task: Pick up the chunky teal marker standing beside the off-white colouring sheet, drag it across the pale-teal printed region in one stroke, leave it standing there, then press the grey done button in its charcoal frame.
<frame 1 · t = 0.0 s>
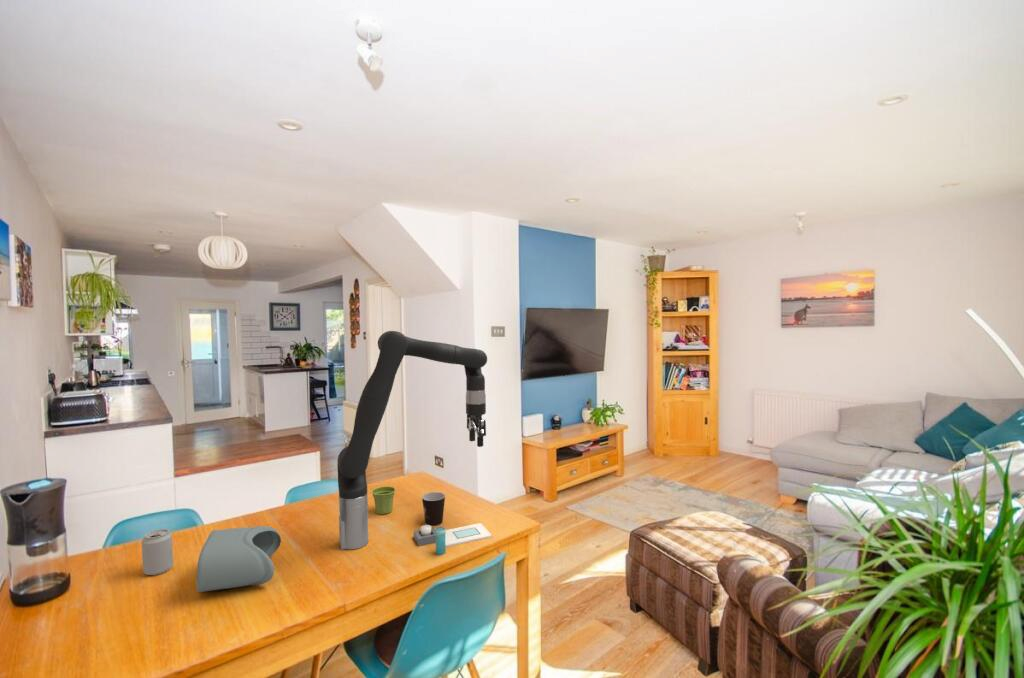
hand: (476, 443, 182), 29 cm above the table, fingers open, 8 cm apart
can: (158, 571, 148), on the table
sheet: (463, 535, 170), on the table
done button: (426, 531, 166), point 3 cm above the table, slide at 0.0 cm
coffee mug: (434, 521, 182), on the table
marker: (440, 552, 158), on the table
plant pot: (384, 512, 191), on the table
button frame: (426, 539, 167), on the table
grey scooped bin: (242, 577, 144), on the table
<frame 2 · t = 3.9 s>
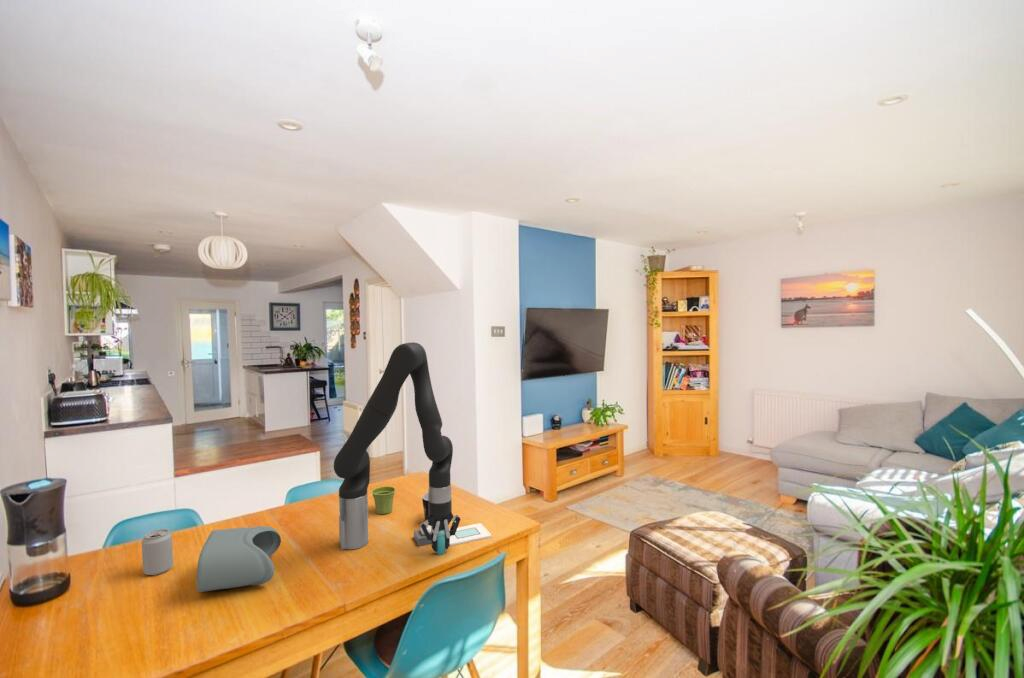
hand: (440, 549, 157), 1 cm above the table, fingers closed on marker, 3 cm apart
marker: (440, 552, 158), on the table, touching gripper
everything else where it was.
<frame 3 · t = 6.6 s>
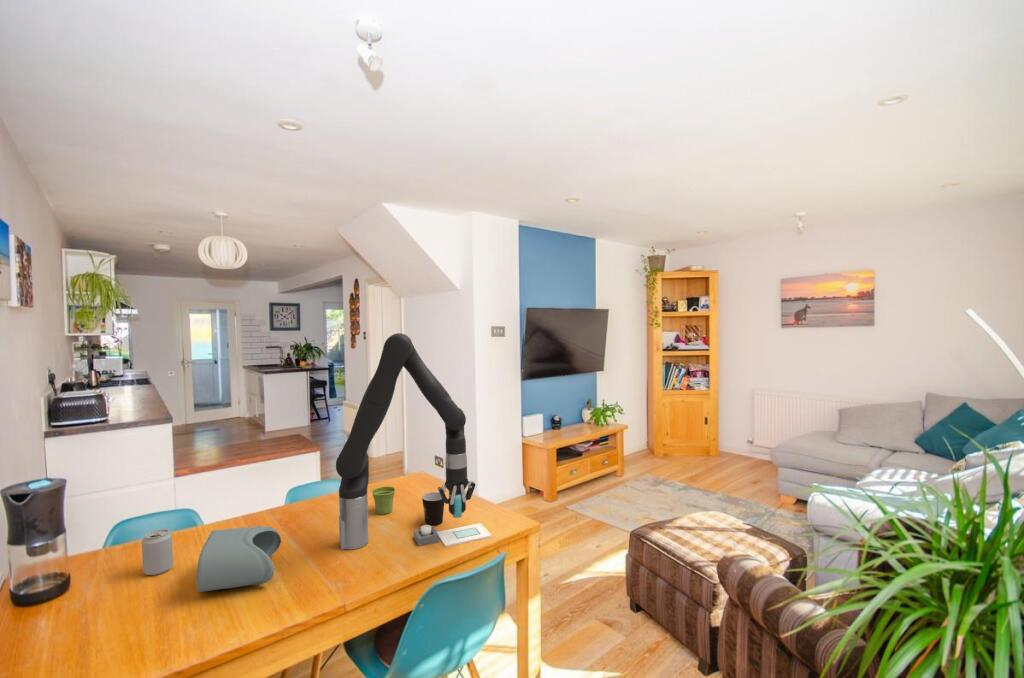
hand: (457, 512, 168), 9 cm above the table, fingers closed on marker, 3 cm apart
marker: (457, 516, 168), point 8 cm above the table, touching gripper
everything else where it was.
when the fingers open (2 cm above the table, at t = 9.7 s): marker stays where it is, resting on sheet.
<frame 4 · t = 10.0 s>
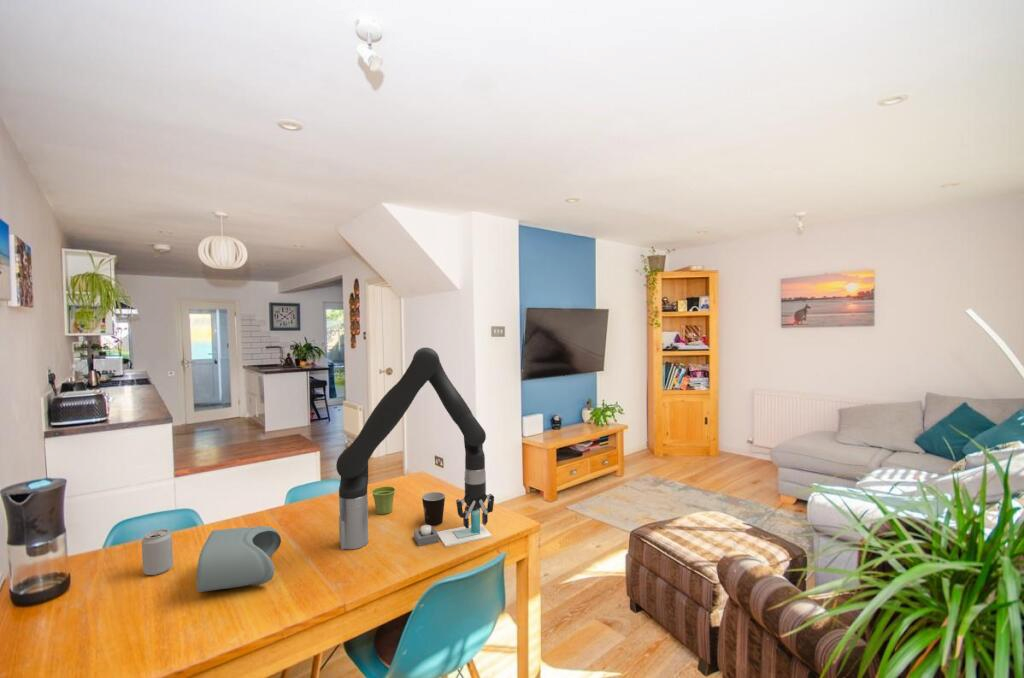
hand: (475, 525, 172), 3 cm above the table, fingers open, 6 cm apart
marker: (475, 531, 172), point 1 cm above the table, touching sheet
everything else where it was.
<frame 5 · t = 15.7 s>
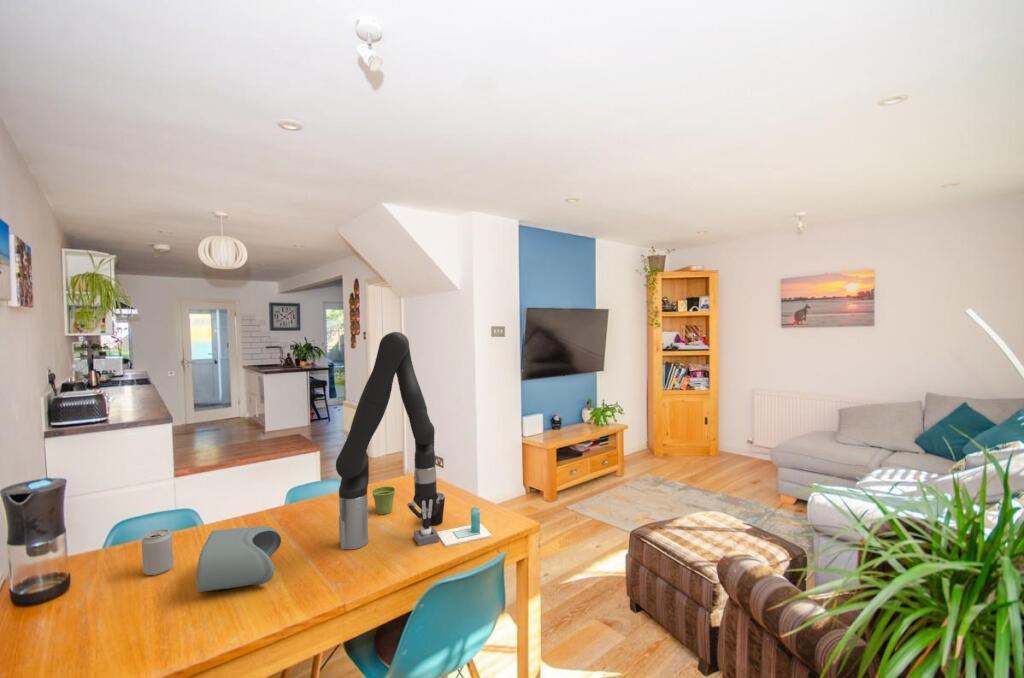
hand: (426, 527, 166), 4 cm above the table, fingers closed
done button: (426, 532, 167), point 3 cm above the table, slide at 0.3 cm, touching gripper
everything else where it was.
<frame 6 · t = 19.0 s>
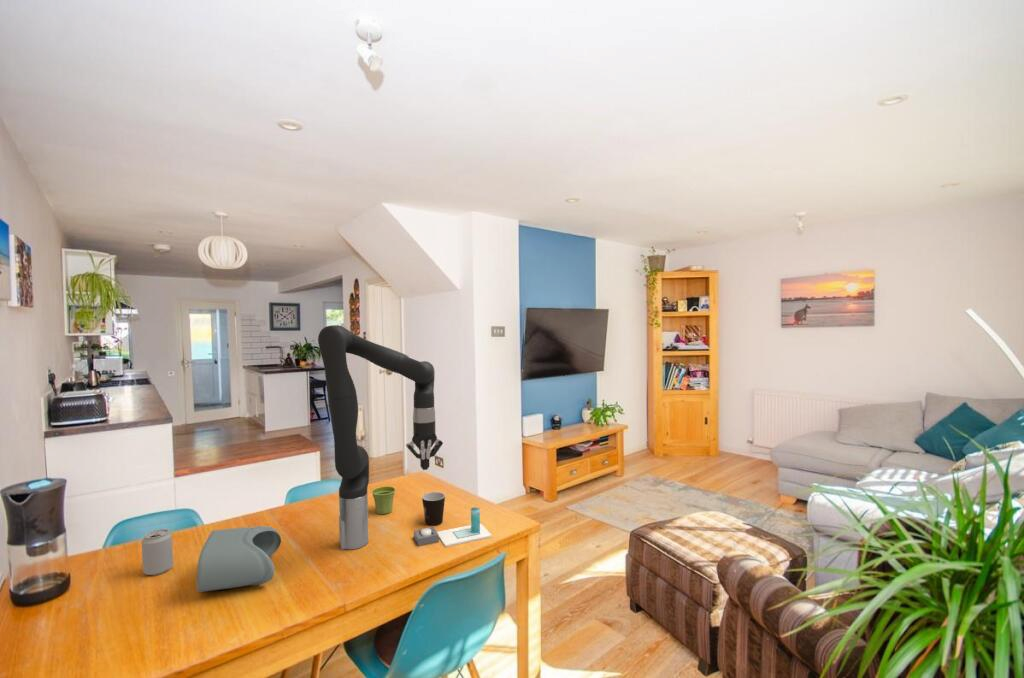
hand: (425, 469, 165), 25 cm above the table, fingers closed
done button: (426, 534, 167), point 2 cm above the table, slide at 1.2 cm
everything else where it was.
at the end: done button slide at 1.2 cm; marker inside the target area on the sheet (3.0 cm from its centre), point 0.7 cm above the sheet's base; the gripper is holding nothing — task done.
